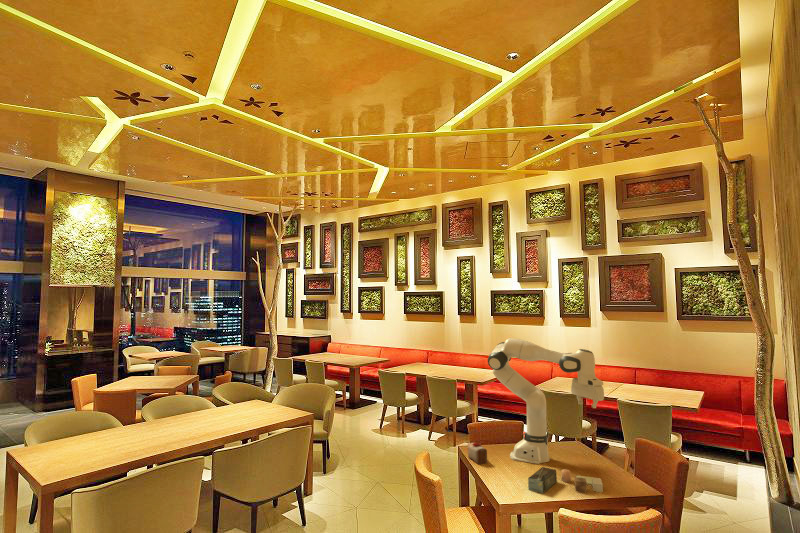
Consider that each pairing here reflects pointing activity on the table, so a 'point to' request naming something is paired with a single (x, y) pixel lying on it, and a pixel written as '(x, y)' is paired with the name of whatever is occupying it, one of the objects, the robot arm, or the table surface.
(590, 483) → the green tile
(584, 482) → the walnut cube
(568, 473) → the brown egg
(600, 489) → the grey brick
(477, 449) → the grey canister red cap
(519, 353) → the robot arm
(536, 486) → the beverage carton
